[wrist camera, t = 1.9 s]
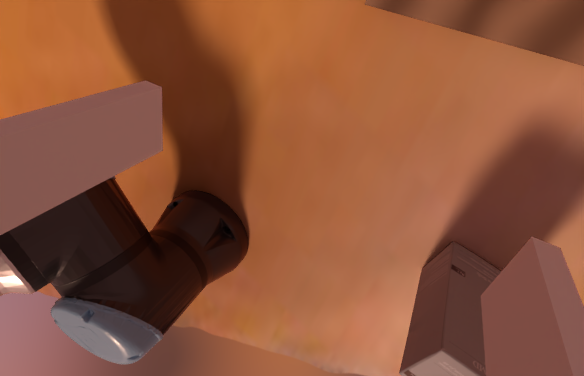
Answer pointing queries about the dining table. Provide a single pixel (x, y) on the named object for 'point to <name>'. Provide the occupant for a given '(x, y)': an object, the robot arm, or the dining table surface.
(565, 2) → the board
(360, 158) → the dining table surface
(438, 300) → the skincare box
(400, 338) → the dining table surface
